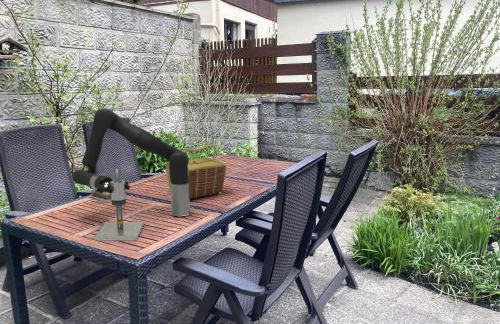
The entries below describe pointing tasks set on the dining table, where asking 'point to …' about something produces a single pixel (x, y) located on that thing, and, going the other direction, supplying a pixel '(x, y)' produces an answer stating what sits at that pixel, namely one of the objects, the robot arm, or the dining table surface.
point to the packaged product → (101, 196)
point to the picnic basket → (203, 174)
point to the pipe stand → (119, 224)
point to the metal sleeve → (118, 190)
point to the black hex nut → (119, 202)
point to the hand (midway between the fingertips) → (120, 189)
